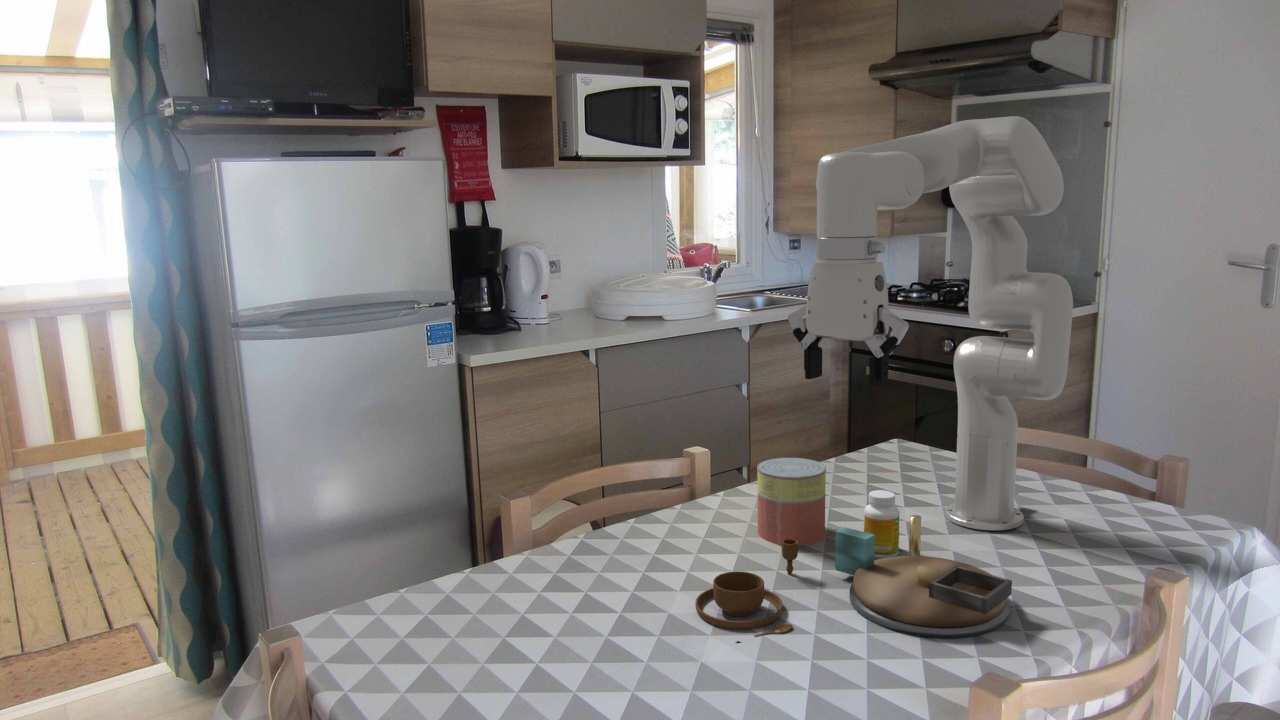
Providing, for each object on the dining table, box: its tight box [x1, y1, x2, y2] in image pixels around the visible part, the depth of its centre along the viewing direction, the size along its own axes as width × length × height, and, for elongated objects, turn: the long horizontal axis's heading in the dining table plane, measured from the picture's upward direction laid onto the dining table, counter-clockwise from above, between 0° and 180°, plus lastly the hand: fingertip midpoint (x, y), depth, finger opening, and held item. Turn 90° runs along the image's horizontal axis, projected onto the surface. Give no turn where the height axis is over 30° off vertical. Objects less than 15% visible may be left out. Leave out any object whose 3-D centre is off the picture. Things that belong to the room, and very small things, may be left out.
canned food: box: [756, 456, 827, 547], centre depth 151 cm, size 11×11×12 cm
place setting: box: [694, 539, 799, 644], centre depth 127 cm, size 18×20×6 cm
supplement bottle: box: [863, 489, 900, 559], centre depth 143 cm, size 5×5×10 cm
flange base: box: [849, 514, 1010, 639], centre depth 125 cm, size 21×21×8 cm
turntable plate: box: [834, 526, 1013, 627], centre depth 127 cm, size 24×20×6 cm
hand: (844, 381), depth 120 cm, fingers open, 9 cm apart
